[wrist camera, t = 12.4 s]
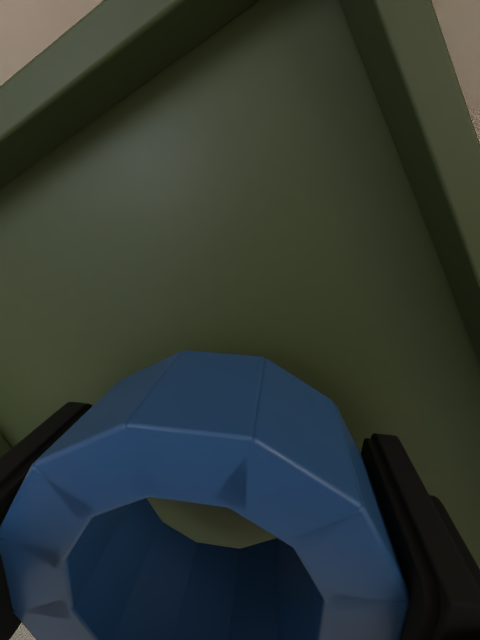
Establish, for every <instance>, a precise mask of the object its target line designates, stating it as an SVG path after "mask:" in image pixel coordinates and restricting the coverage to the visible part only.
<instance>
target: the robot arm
mask: <svg viewBox="0 0 480 640" xmlns="http://www.w3.org/2000/svg"><path fill="white" fill-rule="evenodd" d="M91 407H92V405H91V404H89V403H80V402H68V403H66V404H65V405H64V406H62V407H61V408H60V409H59V410H58V411H56V412H55V413H54V414H53V415H51V416H50V417H49V418H48V419H47V420H45V421H44V422H43V423H42V424H41V425H39V426H38V427H37V428H36V429H35V430H33V431H32V432H31V433H30V434H28V435H27V436H26V437H25V438H24V439H22V440H21V441H20V442H19V443H18V444H16V445H15V446H14V447H13V448H11V449H10V450H9V451H8V452H7V453H5V454H4V455H3V456H2V457H1V458H0V526H1V524H2V522H3V520H4V518H5V516H6V514H7V512H8V510H9V508H10V506H11V504H12V502H13V500H14V498H15V496H16V494H17V492H18V491H19V489H20V487H21V485H22V483H23V481H24V479H25V477H26V475H27V473H28V471H29V469H30V467H31V465H32V464H33V463H34V462H35V461H36V460H37V459H38V458H39V457H40V456H41V455H42V454H43V453H44V452H45V451H46V450H47V449H48V448H49V447H51V446H52V445H53V444H54V443H55V442H56V441H57V440H58V439H59V438H60V437H61V436H62V435H63V434H64V433H65V432H66V431H67V430H68V429H69V428H70V427H71V426H73V425H74V424H75V423H76V422H77V421H78V420H79V419H80V418H81V417H82V416H83V415H84V414H85V413H86V412H87V411H88V410H89V409H90V408H91ZM361 456H362V458H363V460H364V462H365V463H366V466H367V469H368V472H369V475H370V478H371V481H372V484H373V487H374V490H375V492H376V495H377V498H378V501H379V504H380V507H381V510H382V513H383V516H384V519H385V522H386V525H387V528H388V531H389V533H390V536H391V539H392V542H393V545H394V548H395V551H396V554H397V557H398V560H399V563H400V566H401V569H402V572H403V574H404V577H405V580H406V583H407V586H408V589H409V599H410V604H409V608H408V612H407V616H406V620H405V624H404V628H403V632H402V636H401V640H480V569H479V567H478V565H477V563H476V562H475V560H474V558H473V556H472V555H471V553H470V551H469V549H468V547H467V546H466V544H465V542H464V540H463V539H462V537H461V535H460V533H459V532H458V530H457V528H456V526H455V525H454V523H453V521H452V519H451V518H450V516H449V514H448V512H447V510H446V509H445V507H444V505H443V504H442V502H441V501H440V500H439V498H437V497H436V496H432V495H429V494H428V492H427V490H426V488H425V486H424V484H423V482H422V481H421V479H420V477H419V475H418V473H417V471H416V469H415V468H414V466H413V464H412V462H411V460H410V458H409V456H408V454H407V453H406V451H405V449H404V447H403V445H402V443H401V441H400V440H399V438H398V437H397V436H396V435H387V434H377V433H373V434H372V436H371V439H369V438H365V439H364V441H363V446H362V452H361ZM13 610H14V609H13V608H12V604H11V600H10V595H9V591H8V586H7V582H6V577H5V573H4V568H3V564H2V559H1V555H0V640H9V639H10V638H11V637H12V635H13V634H14V633H15V631H16V630H17V628H18V627H19V625H20V624H21V621H20V620H19V619H18V617H17V616H16V615H15V614H14V613H13Z"/></svg>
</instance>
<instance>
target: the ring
mask: <svg viewBox="0 0 480 640" xmlns="http://www.w3.org/2000/svg"><path fill="white" fill-rule="evenodd" d="M148 497H152V498H160V499H167V500H175V501H182V502H190V503H197V504H204V505H212V506H219V507H227V508H229V509H231V510H232V511H234V512H236V513H237V514H239V515H241V516H242V517H244V518H245V519H247V520H249V521H250V522H252V523H254V524H255V525H257V526H259V527H260V528H262V529H263V530H265V531H267V532H268V533H270V534H272V535H273V536H275V537H277V538H275V539H272V540H268V541H265V542H261V543H258V544H255V545H251V546H248V547H244V548H241V549H239V548H232V547H225V546H219V545H212V544H205V543H198V542H195V541H194V540H192V539H190V538H189V537H187V536H185V535H184V534H182V533H180V532H179V531H177V530H175V529H174V528H172V527H170V526H169V525H167V524H165V523H164V522H162V520H161V519H160V517H159V516H158V514H157V513H156V511H155V510H154V508H153V507H152V505H151V504H150V503H149V501H148V500H147V498H148ZM0 555H1V559H2V564H3V568H4V573H5V577H6V582H7V586H8V591H9V595H10V600H11V604H12V608H13V609H14V610H13V613H14V614H15V615H16V616H17V617H18V619H19V620H20V621H21V622H22V623H23V624H24V626H25V627H26V628H27V629H28V630H29V632H30V633H31V634H32V635H33V636H34V637H35V639H36V640H401V636H402V632H403V628H404V624H405V620H406V616H407V612H408V608H409V604H410V599H409V589H408V586H407V583H406V580H405V577H404V574H403V572H402V569H401V566H400V563H399V560H398V557H397V554H396V551H395V548H394V545H393V542H392V539H391V536H390V533H389V531H388V528H387V525H386V522H385V519H384V516H383V513H382V510H381V507H380V504H379V501H378V498H377V495H376V492H375V490H374V487H373V484H372V481H371V478H370V475H369V472H368V469H367V466H366V463H365V462H364V460H363V458H362V456H361V454H360V452H359V450H358V448H357V446H356V444H355V442H354V440H353V438H352V436H351V434H350V432H349V430H348V428H347V426H346V424H345V422H344V420H343V418H342V416H341V414H340V412H339V410H338V408H337V406H336V405H335V404H334V403H333V401H332V400H331V399H330V398H328V397H326V396H325V395H323V394H322V393H320V392H319V391H317V390H316V389H314V388H312V387H311V386H309V385H308V384H306V383H305V382H303V381H301V380H300V379H298V378H297V377H295V376H294V375H292V374H290V373H289V372H287V371H286V370H284V369H283V368H281V367H280V366H278V365H276V364H275V363H273V362H272V361H270V360H269V359H266V358H265V359H264V357H261V356H249V355H237V354H225V353H212V352H200V351H188V350H185V351H183V352H178V353H176V354H174V355H172V356H170V357H168V358H166V359H164V360H161V361H159V362H157V363H155V364H153V365H151V366H149V367H147V368H145V369H143V370H140V371H138V372H136V373H134V374H132V375H130V376H128V377H126V378H124V379H121V380H120V381H119V382H118V383H117V384H115V385H114V386H113V387H112V388H111V389H110V390H109V391H108V392H107V393H106V394H105V395H104V396H103V397H102V398H101V399H100V400H99V401H98V402H97V403H96V404H95V405H93V406H92V407H91V408H90V409H89V410H88V411H87V412H86V413H85V414H84V415H83V416H82V417H81V418H80V419H79V420H78V421H77V422H76V423H75V424H74V425H73V426H71V427H70V428H69V429H68V430H67V431H66V432H65V433H64V434H63V435H62V436H61V437H60V438H59V439H58V440H57V441H56V442H55V443H54V444H53V445H52V446H51V447H49V448H48V449H47V450H46V451H45V452H44V453H43V454H42V455H41V456H40V457H39V458H38V459H37V460H36V461H35V462H34V463H33V464H32V465H31V467H30V469H29V471H28V473H27V475H26V477H25V479H24V481H23V483H22V485H21V487H20V489H19V491H18V492H17V494H16V496H15V498H14V500H13V502H12V504H11V506H10V508H9V510H8V512H7V514H6V516H5V518H4V520H3V522H2V524H1V526H0Z"/></svg>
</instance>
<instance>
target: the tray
mask: <svg viewBox="0 0 480 640" xmlns="http://www.w3.org/2000/svg"><path fill="white" fill-rule="evenodd" d="M185 350H188V351H200V352H212V353H225V354H237V355H249V356H261V357H264V359H265V358H266V359H269V360H270V361H272V362H273V363H275V364H276V365H278V366H280V367H281V368H283V369H284V370H286V371H287V372H289V373H290V374H292V375H294V376H295V377H297V378H298V379H300V380H301V381H303V382H305V383H306V384H308V385H309V386H311V387H312V388H314V389H316V390H317V391H319V392H320V393H322V394H323V395H325V396H326V397H328V398H330V399H331V400H332V401H333V403H334V404H335V405H336V406H337V408H338V410H339V412H340V414H341V416H342V418H343V420H344V422H345V424H346V426H347V428H348V430H349V432H350V434H351V436H352V438H353V440H354V442H355V444H356V446H357V448H358V450H359V452H360V454H361V452H362V446H363V441H364V439H365V438H369V439H371V436H372V434H373V433H377V434H387V435H396V436H397V437H398V438H399V440H400V441H401V443H402V445H403V447H404V449H405V451H406V453H407V454H408V456H409V458H410V460H411V462H412V464H413V466H414V468H415V469H416V471H417V473H418V475H419V477H420V479H421V481H422V482H423V484H424V486H425V488H426V490H427V492H428V494H429V495H432V496H436V497H437V498H439V500H440V501H441V502H442V504H443V505H444V507H445V509H446V510H447V512H448V514H449V516H450V518H451V519H452V521H453V523H454V525H455V526H456V528H457V530H458V532H459V533H460V535H461V537H462V539H463V540H464V542H465V544H466V546H467V547H468V549H469V551H470V553H471V555H472V556H473V558H474V560H475V562H476V563H477V565H478V567H479V569H480V144H479V141H478V138H477V135H476V132H475V129H474V126H473V124H472V121H471V118H470V115H469V112H468V109H467V106H466V103H465V100H464V97H463V94H462V91H461V88H460V85H459V82H458V79H457V76H456V73H455V70H454V67H453V64H452V61H451V58H450V55H449V52H448V49H447V46H446V43H445V40H444V37H443V34H442V31H441V28H440V25H439V22H438V19H437V16H436V13H435V10H434V7H433V4H432V1H431V0H104V1H103V2H101V3H100V4H99V5H98V6H97V7H95V8H94V9H93V10H92V11H91V12H89V13H88V14H87V15H86V16H85V17H83V18H82V19H81V20H80V21H79V22H77V23H76V24H75V25H74V26H72V27H71V28H70V29H69V30H68V31H66V32H65V33H64V34H63V35H62V36H60V37H59V38H58V39H57V40H56V41H54V42H53V43H52V44H51V45H50V46H48V47H47V48H46V49H45V50H44V51H42V52H41V53H40V54H39V55H38V56H36V57H35V58H34V59H33V60H32V61H30V62H29V63H28V64H27V65H25V66H24V67H23V68H22V69H21V70H19V71H18V72H17V73H16V74H15V75H13V76H12V77H11V78H10V79H9V80H7V81H6V82H5V83H4V84H3V85H1V86H0V458H1V457H2V456H3V455H4V454H5V453H7V452H8V451H9V450H10V449H11V448H13V447H14V446H15V445H16V444H18V443H19V442H20V441H21V440H22V439H24V438H25V437H26V436H27V435H28V434H30V433H31V432H32V431H33V430H35V429H36V428H37V427H38V426H39V425H41V424H42V423H43V422H44V421H45V420H47V419H48V418H49V417H50V416H51V415H53V414H54V413H55V412H56V411H58V410H59V409H60V408H61V407H62V406H64V405H65V404H66V403H68V402H80V403H89V404H91V405H92V406H93V405H95V404H96V403H97V402H98V401H99V400H100V399H101V398H102V397H103V396H104V395H105V394H106V393H107V392H108V391H109V390H110V389H111V388H112V387H113V386H114V385H115V384H117V383H118V382H119V381H120V380H121V379H124V378H126V377H128V376H130V375H132V374H134V373H136V372H138V371H140V370H143V369H145V368H147V367H149V366H151V365H153V364H155V363H157V362H159V361H161V360H164V359H166V358H168V357H170V356H172V355H174V354H176V353H178V352H183V351H185ZM147 500H148V501H149V503H150V504H151V505H152V507H153V508H154V510H155V511H156V513H157V514H158V516H159V517H160V519H161V520H162V522H164V523H165V524H167V525H169V526H170V527H172V528H174V529H175V530H177V531H179V532H180V533H182V534H184V535H185V536H187V537H189V538H190V539H192V540H194V541H195V542H198V543H205V544H212V545H219V546H225V547H232V548H239V549H241V548H244V547H248V546H251V545H255V544H258V543H261V542H265V541H268V540H272V539H275V538H277V537H275V536H273V535H272V534H270V533H268V532H267V531H265V530H263V529H262V528H260V527H259V526H257V525H255V524H254V523H252V522H250V521H249V520H247V519H245V518H244V517H242V516H241V515H239V514H237V513H236V512H234V511H232V510H231V509H229V508H227V507H219V506H212V505H204V504H197V503H190V502H182V501H175V500H167V499H160V498H152V497H148V498H147Z"/></svg>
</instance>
